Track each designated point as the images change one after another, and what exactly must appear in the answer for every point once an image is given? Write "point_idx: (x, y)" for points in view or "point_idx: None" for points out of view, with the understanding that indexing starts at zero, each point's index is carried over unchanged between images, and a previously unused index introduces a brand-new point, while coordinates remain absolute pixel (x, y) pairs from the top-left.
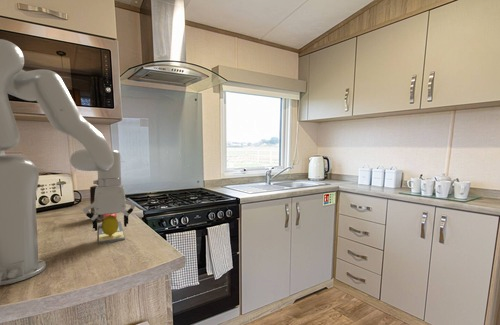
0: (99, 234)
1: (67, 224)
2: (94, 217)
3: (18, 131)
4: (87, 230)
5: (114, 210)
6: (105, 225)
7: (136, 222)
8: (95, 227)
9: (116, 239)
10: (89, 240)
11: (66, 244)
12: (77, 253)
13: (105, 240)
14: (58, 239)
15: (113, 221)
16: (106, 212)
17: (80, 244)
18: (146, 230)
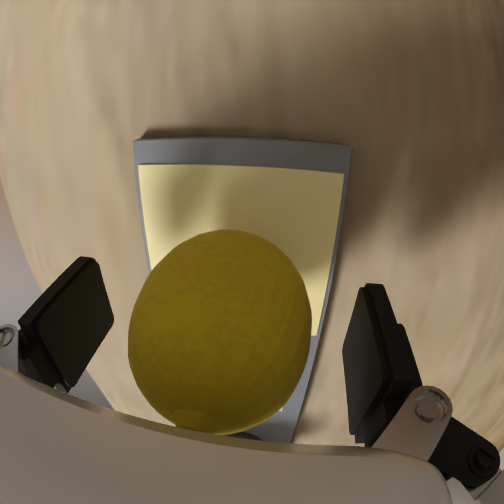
0: (312, 344)
1: None
2: (418, 423)
3: None
4: (345, 429)
5: (39, 439)
6: (273, 288)
7: (126, 411)
8: (385, 306)
9: (195, 140)
10: (386, 283)
11: (494, 281)
12: (479, 40)
13: (288, 166)
14: (477, 371)
15: (158, 308)
16: (212, 471)
17: (449, 230)
18: (43, 271)
